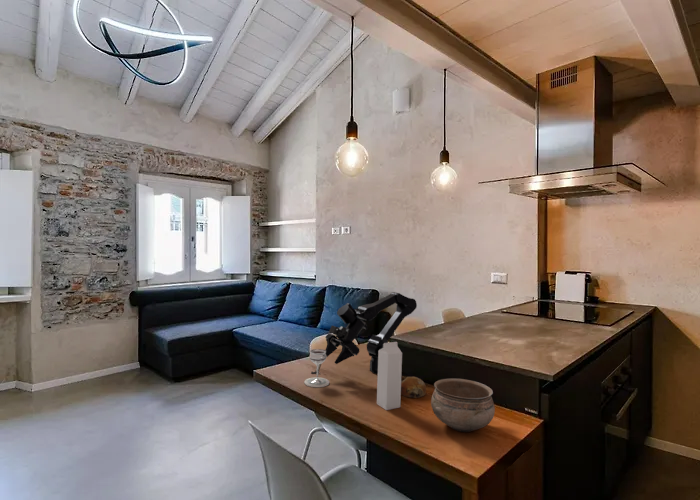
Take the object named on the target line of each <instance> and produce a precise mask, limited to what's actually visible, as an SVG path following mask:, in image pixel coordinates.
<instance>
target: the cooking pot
mask: <svg viewBox="0 0 700 500" xmlns="http://www.w3.org/2000/svg"><path fill="white" fill-rule="evenodd" d="M433 387H434V390H433V392H432V396H431V400H430V407H431V409H432V411H433V414H434V415H435V416H436V418H437V419H438V420H439V421H440V422H442V423H443V424H445V425H446V426H448V427H449V428H451V429H452V430H454V431H456V432H460V433H471V432H472V431H476V430H479V429H482V428H485V427H486V426H487V425H489V424H490V423H491V422H492V420H493V419H494V416H495V412H496V411H495V410H496V409H495V403H494V400H493V396H492V395H493V394H494V392H493V389H492V388H490V386H487V385H486V384H483V383H481V382H478V381H475V380H470V379H466V378H465V379H464V378H441V379H438V380H437V381H435V382H434V383H433Z"/></svg>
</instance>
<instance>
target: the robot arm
mask: <svg viewBox="0 0 700 500" xmlns="http://www.w3.org/2000/svg"><path fill="white" fill-rule="evenodd" d="M393 305H396V310H395V312H394V313H393V315H392V316H391V317H390V319H389V320H388V321H387V323H386V324H385V326H384V327H383V328H382V329H381V331H380V332H379V334H377V335H376V334H372V335H371V336H370V338H369V339H368V340H367V344H366V351H367V353H368V356H369V357H371V359H370V360H369V371H370V372H372V373H373V374H374V375H375V374H377V375H378V351H379V350H380V349H382V348H383V344H384V343H389V340H390V339H391V338H392V336H393V335H394V333H395V332H396V330H397V329H398V327H399V326H400V325H401V323H402V322H403V321H404V319H405V318H406V317H407V316H409V315H411V314H412V313H414V311H415V310H416V309H417V306H418V305H417V301H416V299H415V298H412V297H407V296H405V295H403V294H401V293H400V292H391V293H390V294H387V295H386V296H384V297H382V298H380V299H378V300H377V301H374V302H373V303H367V304H366V303H365V304H362V305H360V306H358V307H357V308H353V306H352V304H351V303H348V302H347V303H345V305H342V306H341V307H339V308H338V309H337V312H336V315H337V316H338V317H339V318H340V319H341V320H342V321H343V323H344V324H347V325H346V326H340V327H339V326H335V325H331V326H330V329H329V332H328V333H327V334H326V336H325V341H326V347H325V350H326V353H325V354H326V358H328V357H329V356H330V355H332V353H334V352H335V351H336V350H337V349H338V347H339V346H340V347H341V351H340V352H339V354H338V356H337V357H336V359H335V361H334V363H335V365H338V364H339V363H342V362H343V361H346V360H347V359H349V358H352V357H355V356H358V355H359V353H360V348H359V347H358V345H357V344H355V342H354V340H358V338H359V337H358V335H359V333H360V332H361V331H362V330H363V329H365V330H368V329H369V328H368V322H369V321H372V320H374V318H376V317H377V316H378V314H379V313H380V312H382V311H383V310H385V309H387V308H389V307H391V306H393ZM365 321H368V322H365Z"/></svg>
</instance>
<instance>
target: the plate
mask: <svg viewBox="0 0 700 500" xmlns="http://www.w3.org/2000/svg"><path fill="white" fill-rule="evenodd" d="M313 379H317V376H315V377H309V378H306V379H305V380H304V385H305V386H306V387H309V388H325V387H328V386H329V385H330V380H329V379H327V378H325V377H318V379H321V380H323V382H322V383H313V382H311V380H313Z"/></svg>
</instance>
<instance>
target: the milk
mask: <svg viewBox="0 0 700 500" xmlns="http://www.w3.org/2000/svg"><path fill="white" fill-rule="evenodd" d="M402 365H403V352H402V351H401V349H400V348H399V346H398V342H397V341H393V342H390V341H389V342H388V343H384V344H383V348H382V349H380V350H379V351H378V373H377V385H376V386H377V387H376V405H378V406H379V407H380V408H382V409H384V410H385V411H390V410H393V409H398V408H401V395H402V394H401V382H402V372H403V371H402V370H403V369H402V368H403V367H402Z"/></svg>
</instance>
